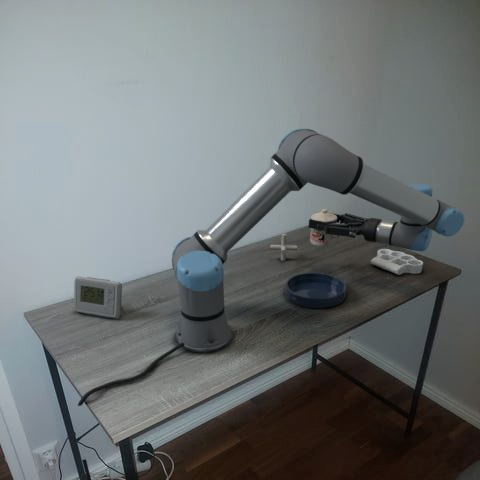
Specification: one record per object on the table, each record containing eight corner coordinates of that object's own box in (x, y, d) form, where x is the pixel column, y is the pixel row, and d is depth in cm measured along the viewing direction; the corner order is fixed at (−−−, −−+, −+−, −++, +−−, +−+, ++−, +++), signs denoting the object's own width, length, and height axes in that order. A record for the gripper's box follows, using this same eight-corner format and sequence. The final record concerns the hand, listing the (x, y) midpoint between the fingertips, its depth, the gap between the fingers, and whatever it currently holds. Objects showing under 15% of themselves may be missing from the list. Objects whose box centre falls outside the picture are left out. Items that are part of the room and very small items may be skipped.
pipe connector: (296, 255, 175) (297, 230, 170) (296, 265, 166) (297, 239, 161) (270, 254, 176) (271, 229, 171) (269, 264, 167) (270, 239, 162)
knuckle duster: (363, 263, 167) (387, 254, 175) (404, 279, 155) (429, 268, 162) (364, 255, 165) (389, 245, 173) (406, 271, 153) (431, 260, 160)
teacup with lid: (303, 242, 158) (305, 209, 152) (321, 235, 163) (323, 203, 157) (330, 251, 150) (332, 217, 144) (347, 244, 155) (350, 211, 149)
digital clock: (71, 312, 138) (64, 281, 133) (93, 300, 145) (87, 269, 139) (110, 325, 131) (104, 292, 126) (131, 311, 138) (126, 280, 132)
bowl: (337, 313, 135) (338, 303, 134) (277, 301, 142) (277, 292, 140) (350, 287, 150) (351, 278, 149) (295, 277, 157) (296, 268, 155)
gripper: (365, 253, 138) (300, 239, 149) (388, 232, 154) (328, 221, 165) (368, 229, 134) (301, 217, 145) (392, 211, 150) (330, 201, 161)
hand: (315, 219), depth 155 cm, fingers closed on teacup with lid, 9 cm apart
